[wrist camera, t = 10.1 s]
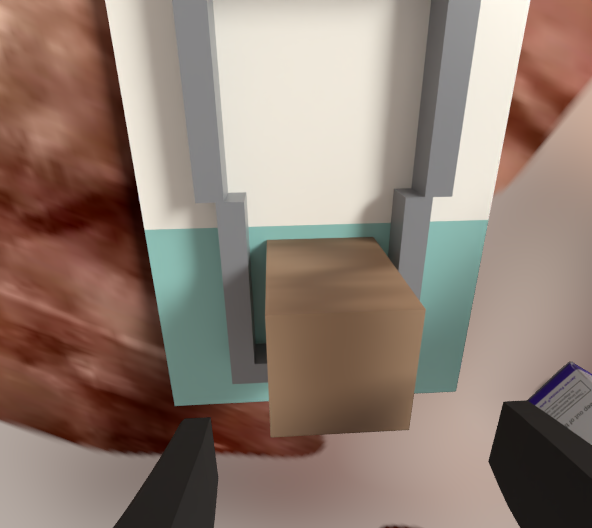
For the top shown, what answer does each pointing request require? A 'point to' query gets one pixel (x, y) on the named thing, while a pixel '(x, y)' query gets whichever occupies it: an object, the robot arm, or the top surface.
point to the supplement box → (568, 399)
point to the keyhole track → (310, 159)
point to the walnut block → (339, 338)
